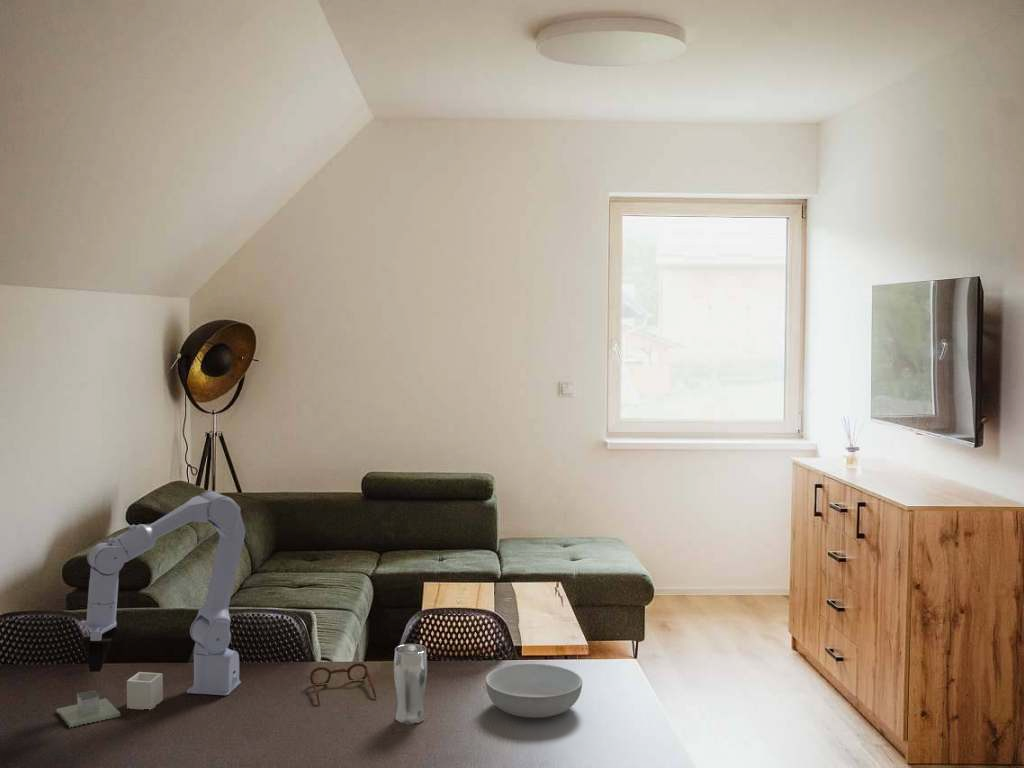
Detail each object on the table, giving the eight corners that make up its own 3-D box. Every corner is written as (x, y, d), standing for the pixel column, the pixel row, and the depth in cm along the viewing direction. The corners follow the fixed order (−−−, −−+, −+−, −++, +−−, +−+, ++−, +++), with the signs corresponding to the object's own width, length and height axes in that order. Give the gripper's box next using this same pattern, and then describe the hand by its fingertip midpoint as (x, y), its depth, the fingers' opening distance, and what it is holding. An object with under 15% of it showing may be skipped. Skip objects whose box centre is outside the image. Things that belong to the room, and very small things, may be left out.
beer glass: (421, 727, 208) (421, 655, 207) (389, 723, 209) (389, 652, 208) (430, 714, 215) (431, 644, 214) (399, 711, 216) (399, 642, 215)
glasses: (367, 682, 235) (367, 660, 234) (377, 702, 222) (378, 680, 222) (309, 688, 230) (309, 666, 230) (317, 709, 218) (317, 686, 218)
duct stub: (105, 701, 219) (105, 682, 219) (120, 716, 212) (120, 696, 211) (56, 712, 213) (56, 692, 213) (69, 728, 205) (69, 707, 205)
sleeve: (162, 700, 221) (162, 673, 220) (151, 709, 215) (150, 682, 215) (139, 698, 221) (139, 672, 221) (127, 708, 216) (126, 680, 215)
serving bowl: (601, 709, 219) (602, 678, 218) (537, 738, 203) (537, 705, 203) (530, 685, 233) (530, 655, 232) (464, 710, 218) (465, 678, 217)
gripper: (87, 592, 219) (82, 655, 219) (76, 609, 205) (71, 676, 205) (121, 593, 221) (117, 655, 221) (113, 610, 206) (108, 676, 207)
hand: (97, 665), depth 213 cm, fingers open, 7 cm apart
